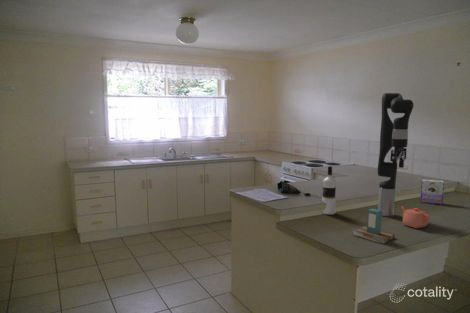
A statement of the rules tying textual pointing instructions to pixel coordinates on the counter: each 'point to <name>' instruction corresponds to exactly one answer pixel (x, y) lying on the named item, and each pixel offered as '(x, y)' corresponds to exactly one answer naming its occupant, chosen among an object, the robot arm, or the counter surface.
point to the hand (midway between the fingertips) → (397, 168)
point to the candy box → (432, 191)
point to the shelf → (380, 238)
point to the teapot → (415, 217)
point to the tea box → (374, 221)
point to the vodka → (329, 193)
